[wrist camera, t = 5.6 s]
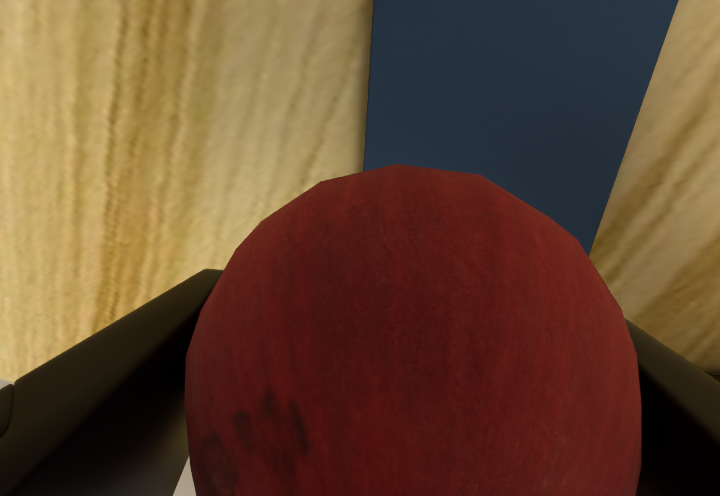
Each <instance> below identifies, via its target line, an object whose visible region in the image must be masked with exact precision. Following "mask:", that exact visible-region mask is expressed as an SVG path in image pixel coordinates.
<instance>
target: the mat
mask: <svg viewBox="0 0 720 496" xmlns="http://www.w3.org/2000/svg"><path fill="white" fill-rule="evenodd" d="M677 3H678V0H374V2H373V18H372V35H371V51H370V68H369V84H368V100H367V117H366V133H365V150H364V166H363V172H364V171H369V170H373V169H377V168H382V167H386V166H390V165H395V164H401V165H409V166H417V167H424V168H432V169H440V170H447V171H455V172H463V173H471V174H478V175H482V176H483V177H485V178H486V179H488V180H490V181H491V182H493V183H494V184H496V185H498V186H499V187H501V188H503V189H504V190H506V191H507V192H509V193H511V194H512V195H514V196H516V197H517V198H519V199H520V200H522V201H524V202H525V203H527V204H529V205H530V206H532V207H533V208H535V209H537V210H538V211H540V212H542V213H543V214H545V215H546V216H548V217H550V218H551V219H552V220H553V221H555V222H556V223H557V224H558V225H560V226H561V227H562V228H563V229H565V230H566V231H567V232H569V233H570V234H571V235H572V236H574V237H575V238H576V239H577V240H578V242H579V243H580V245H581V246H582V248H583V249H584V251H585V253H586V254H587V256H589V253H590V250H591V247H592V244H593V242H594V239H595V236H596V233H597V230H598V227H599V224H600V222H601V219H602V216H603V213H604V210H605V207H606V205H607V202H608V199H609V196H610V193H611V190H612V188H613V185H614V182H615V179H616V176H617V173H618V170H619V168H620V165H621V162H622V159H623V156H624V153H625V151H626V148H627V145H628V142H629V139H630V136H631V134H632V131H633V128H634V125H635V122H636V119H637V116H638V114H639V111H640V108H641V105H642V102H643V99H644V97H645V94H646V91H647V88H648V85H649V82H650V80H651V77H652V74H653V71H654V68H655V65H656V62H657V60H658V57H659V54H660V51H661V48H662V45H663V43H664V40H665V37H666V34H667V31H668V28H669V26H670V23H671V20H672V17H673V14H674V11H675V8H676V6H677Z"/></svg>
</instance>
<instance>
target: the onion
mask: <svg viewBox="0 0 720 496" xmlns="http://www.w3.org/2000/svg"><path fill="white" fill-rule="evenodd" d="M184 407H185V417H186V427H187V437H188V447H189V456H190V466H191V472H192V477H193V482H194V486H195V491H196V496H636V491H637V486H638V481H639V475H640V470H641V395H640V384H639V373H638V362H637V354H636V351H635V348H634V345H633V342H632V339H631V336H630V333H629V330H628V327H627V324H626V322H625V319H624V316H623V313H622V310H621V308H620V306H619V305H618V303H617V301H616V300H615V298H614V297H613V295H612V294H611V292H610V290H609V289H608V287H607V286H606V284H605V283H604V281H603V279H602V278H601V276H600V275H599V273H598V272H597V270H596V268H595V267H594V265H593V264H592V262H591V260H590V259H589V257H588V256H587V254H586V253H585V251H584V249H583V248H582V246H581V245H580V243H579V242H578V240H577V239H576V238H575V237H574V236H572V235H571V234H570V233H569V232H567V231H566V230H565V229H563V228H562V227H561V226H560V225H558V224H557V223H556V222H555V221H553V220H552V219H551V218H550V217H548V216H546V215H545V214H543V213H542V212H540V211H538V210H537V209H535V208H533V207H532V206H530V205H529V204H527V203H525V202H524V201H522V200H520V199H519V198H517V197H516V196H514V195H512V194H511V193H509V192H507V191H506V190H504V189H503V188H501V187H499V186H498V185H496V184H494V183H493V182H491V181H490V180H488V179H486V178H485V177H483V176H482V175H478V174H471V173H463V172H455V171H447V170H440V169H432V168H424V167H417V166H409V165H401V164H395V165H390V166H386V167H382V168H377V169H373V170H369V171H364V172H360V173H356V174H351V175H347V176H343V177H338V178H334V179H330V180H325V181H321V182H319V183H318V184H316V185H315V186H313V187H312V188H310V189H309V190H307V191H306V192H304V193H303V194H301V195H300V196H298V197H297V198H295V199H294V200H292V201H291V202H289V203H288V204H286V205H285V206H283V207H282V208H280V209H279V210H277V211H276V212H274V213H273V214H271V215H270V216H268V217H267V218H265V219H264V220H262V221H261V222H260V223H259V225H258V226H257V227H256V228H255V229H254V230H253V231H252V232H251V233H250V234H249V235H248V237H247V238H246V239H245V240H244V241H243V242H242V243H241V244H240V245H239V246H238V248H237V249H236V250H235V252H234V253H233V255H232V257H231V259H230V260H229V262H228V264H227V266H226V267H225V269H224V271H223V273H222V274H221V276H220V278H219V280H218V281H217V283H216V285H215V287H214V288H213V290H212V292H211V294H210V295H209V297H208V299H207V301H206V302H205V304H204V306H203V308H202V309H201V312H200V315H199V318H198V321H197V324H196V327H195V330H194V333H193V336H192V339H191V342H190V345H189V348H188V351H187V354H186V370H185V400H184Z"/></svg>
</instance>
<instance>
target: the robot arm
mask: <svg viewBox="0 0 720 496" xmlns="http://www.w3.org/2000/svg"><path fill="white" fill-rule="evenodd" d="M223 271H224V270H217V269H204V270H202V271H200V272H198V273H197V274H195V275H193V276H192V277H190V278H188V279H187V280H185V281H183V282H182V283H180V284H178V285H176V286H175V287H173V288H171V289H170V290H168V291H166V292H165V293H163V294H161V295H160V296H158V297H156V298H154V299H153V300H151V301H149V302H148V303H146V304H144V305H143V306H141V307H139V308H138V309H136V310H134V311H132V312H131V313H129V314H127V315H126V316H124V317H122V318H121V319H119V320H117V321H116V322H114V323H112V324H110V325H109V326H107V327H105V328H104V329H102V330H100V331H99V332H97V333H95V334H94V335H92V336H90V337H88V338H87V339H85V340H83V341H82V342H80V343H78V344H77V345H75V346H73V347H71V348H70V349H68V350H66V351H65V352H63V353H61V354H60V355H58V356H56V357H55V358H53V359H51V360H49V361H48V362H46V363H44V364H43V365H41V366H39V367H38V368H36V369H34V370H32V371H31V372H29V373H27V374H26V375H24V376H22V377H21V378H19V379H17V380H16V381H15V383H14V385H13V384H9V385H7V386H5V387H3V388H2V389H0V496H173V493H174V491H175V489H176V486H177V484H178V481H179V479H180V476H181V474H182V471H183V469H184V466H185V464H186V461H187V459H188V457H189V447H188V437H187V427H186V417H185V407H184V400H185V370H186V354H187V351H188V348H189V345H190V342H191V339H192V336H193V333H194V330H195V327H196V324H197V321H198V318H199V315H200V312H201V309H202V308H203V306H204V304H205V302H206V301H207V299H208V297H209V295H210V294H211V292H212V290H213V288H214V287H215V285H216V283H217V281H218V280H219V278H220V276H221V274H222V273H223ZM624 319H625V318H624ZM625 322H626V324H627V327H628V330H629V333H630V336H631V339H632V342H633V345H634V348H635V351H636V354H637V362H638V373H639V384H640V395H641V470H640V475H639V481H638V486H637V491H636V496H720V376H719V375H708V374H706V373H705V372H703V371H702V370H700V369H699V368H697V367H696V366H694V365H693V364H691V363H690V362H689V361H687V360H686V359H684V358H683V357H681V356H680V355H678V354H677V353H675V352H674V351H672V350H671V349H669V348H668V347H666V346H665V345H663V344H662V343H660V342H659V341H658V340H656V339H655V338H653V337H652V336H650V335H649V334H647V333H646V332H644V331H643V330H641V329H640V328H638V327H637V326H635V325H634V324H632V323H631V322H629V321H628V320H627V319H625Z"/></svg>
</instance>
